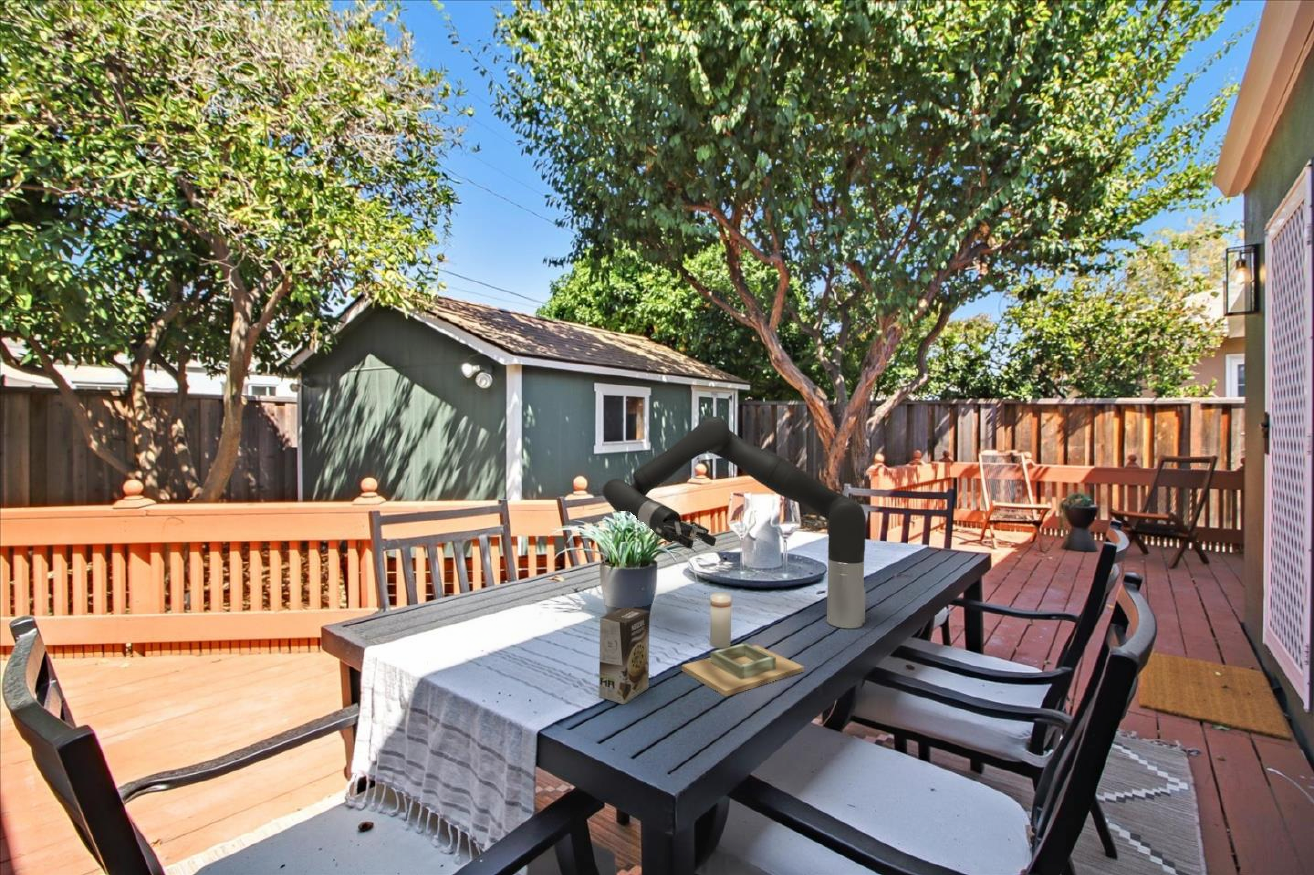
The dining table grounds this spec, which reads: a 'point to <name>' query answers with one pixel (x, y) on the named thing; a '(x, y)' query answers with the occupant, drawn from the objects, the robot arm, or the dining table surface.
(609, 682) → the coffee box
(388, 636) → the dining table surface
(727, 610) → the cream lidded bottle
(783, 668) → the end holder
